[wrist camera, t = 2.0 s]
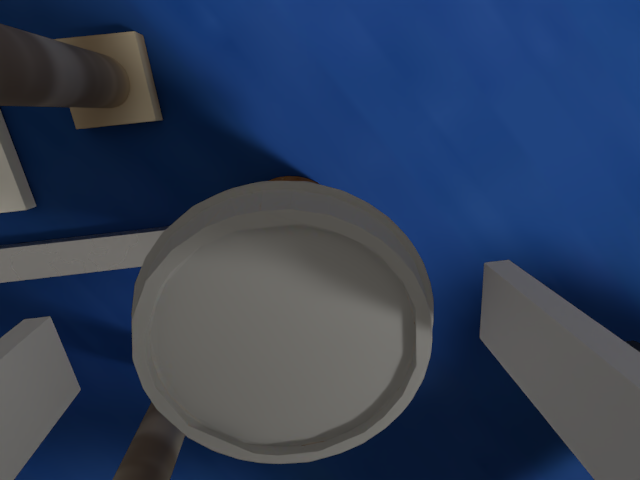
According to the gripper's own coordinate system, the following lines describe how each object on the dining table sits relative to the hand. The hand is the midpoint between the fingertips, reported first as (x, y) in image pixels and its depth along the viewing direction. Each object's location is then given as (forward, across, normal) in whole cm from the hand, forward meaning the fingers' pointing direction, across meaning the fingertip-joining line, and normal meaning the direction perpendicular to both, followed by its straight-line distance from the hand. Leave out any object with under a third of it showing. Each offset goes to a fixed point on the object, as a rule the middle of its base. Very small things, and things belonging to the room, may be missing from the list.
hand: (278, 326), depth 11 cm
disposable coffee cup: (+11, 0, 0) cm, 11 cm away
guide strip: (+11, +14, 0) cm, 18 cm away
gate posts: (+11, +8, 0) cm, 14 cm away
